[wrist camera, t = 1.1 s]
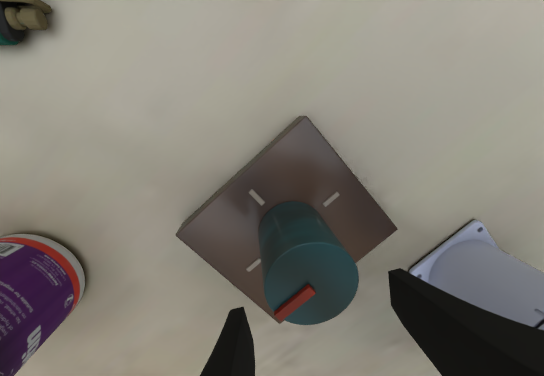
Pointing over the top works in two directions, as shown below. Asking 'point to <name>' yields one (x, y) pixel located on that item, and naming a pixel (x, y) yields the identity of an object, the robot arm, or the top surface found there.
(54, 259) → the pill bottle
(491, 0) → the top surface
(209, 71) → the top surface
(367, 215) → the stand
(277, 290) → the jar
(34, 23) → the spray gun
